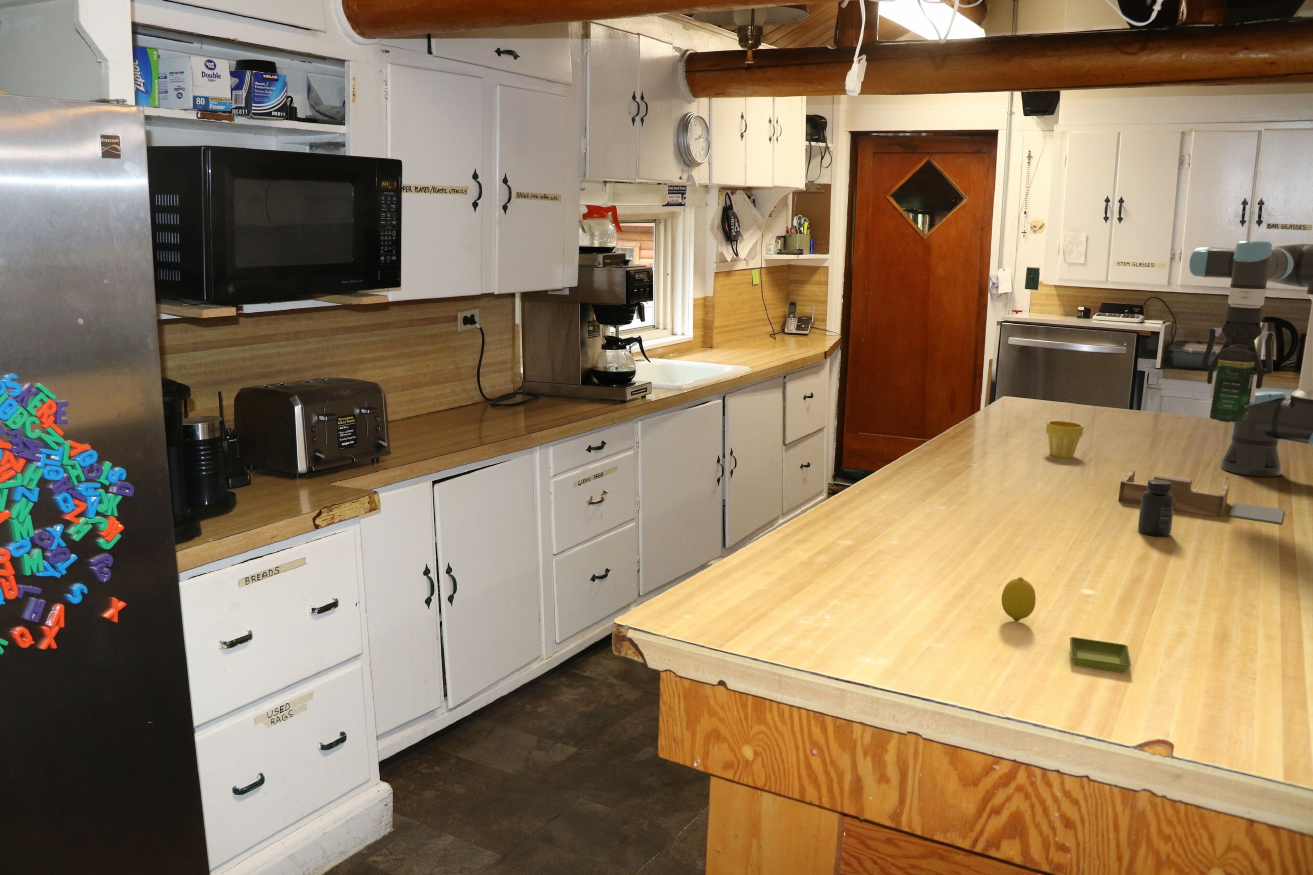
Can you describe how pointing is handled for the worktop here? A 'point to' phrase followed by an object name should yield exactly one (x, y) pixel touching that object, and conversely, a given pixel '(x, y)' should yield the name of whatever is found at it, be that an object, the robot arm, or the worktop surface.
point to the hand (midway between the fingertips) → (1231, 399)
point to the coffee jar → (1233, 384)
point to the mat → (1257, 513)
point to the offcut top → (1176, 482)
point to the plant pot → (1063, 437)
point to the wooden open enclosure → (1177, 497)
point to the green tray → (1099, 654)
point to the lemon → (1018, 599)
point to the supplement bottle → (1156, 509)
